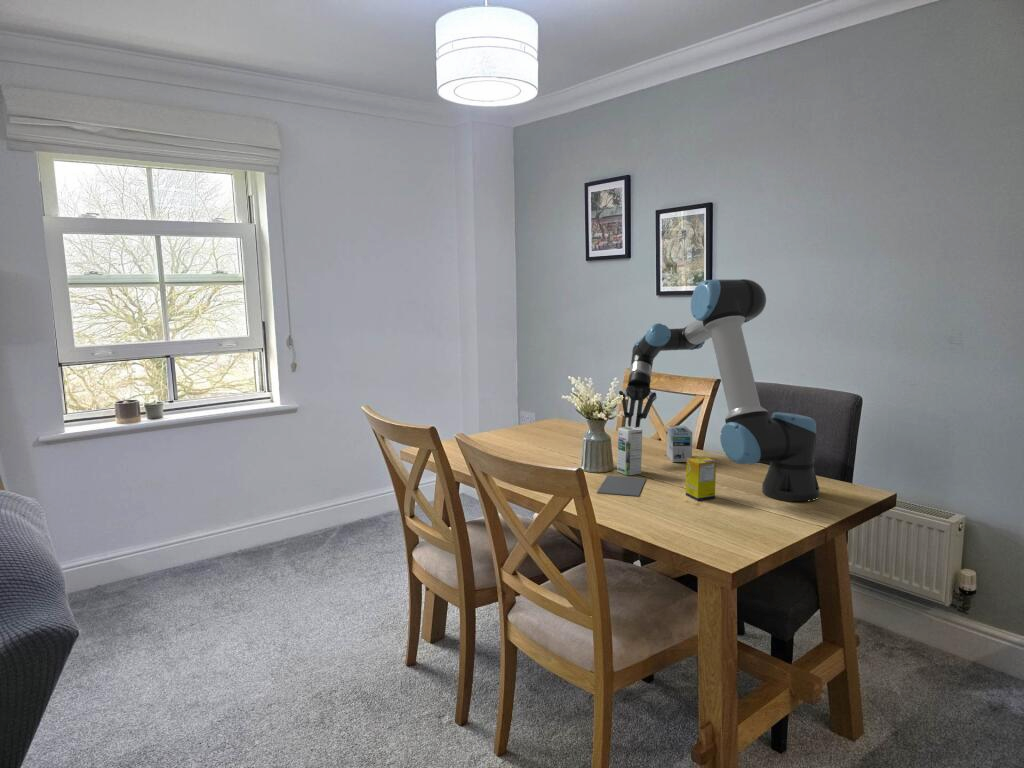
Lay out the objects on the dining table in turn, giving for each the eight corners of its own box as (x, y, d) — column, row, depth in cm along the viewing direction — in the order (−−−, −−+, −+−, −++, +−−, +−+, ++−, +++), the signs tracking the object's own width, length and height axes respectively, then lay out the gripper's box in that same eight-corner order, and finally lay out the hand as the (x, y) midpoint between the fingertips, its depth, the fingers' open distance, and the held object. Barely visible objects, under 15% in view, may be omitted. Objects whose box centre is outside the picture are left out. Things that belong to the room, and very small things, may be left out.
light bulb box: (692, 463, 228) (693, 431, 227) (672, 463, 229) (672, 431, 227) (684, 455, 239) (685, 425, 237) (665, 455, 239) (666, 425, 238)
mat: (607, 476, 214) (607, 475, 213) (646, 479, 210) (646, 478, 210) (596, 493, 197) (596, 492, 197) (638, 496, 193) (638, 495, 193)
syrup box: (616, 471, 219) (616, 427, 216) (631, 469, 221) (631, 425, 219) (627, 476, 214) (627, 431, 211) (642, 473, 216) (643, 429, 214)
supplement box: (702, 492, 196) (703, 455, 195) (715, 498, 191) (716, 460, 189) (684, 495, 194) (686, 457, 193) (697, 501, 189) (698, 463, 187)
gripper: (659, 384, 238) (653, 441, 225) (622, 383, 242) (614, 439, 229) (658, 371, 232) (651, 429, 219) (620, 370, 236) (611, 427, 223)
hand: (632, 434), depth 224 cm, fingers closed
